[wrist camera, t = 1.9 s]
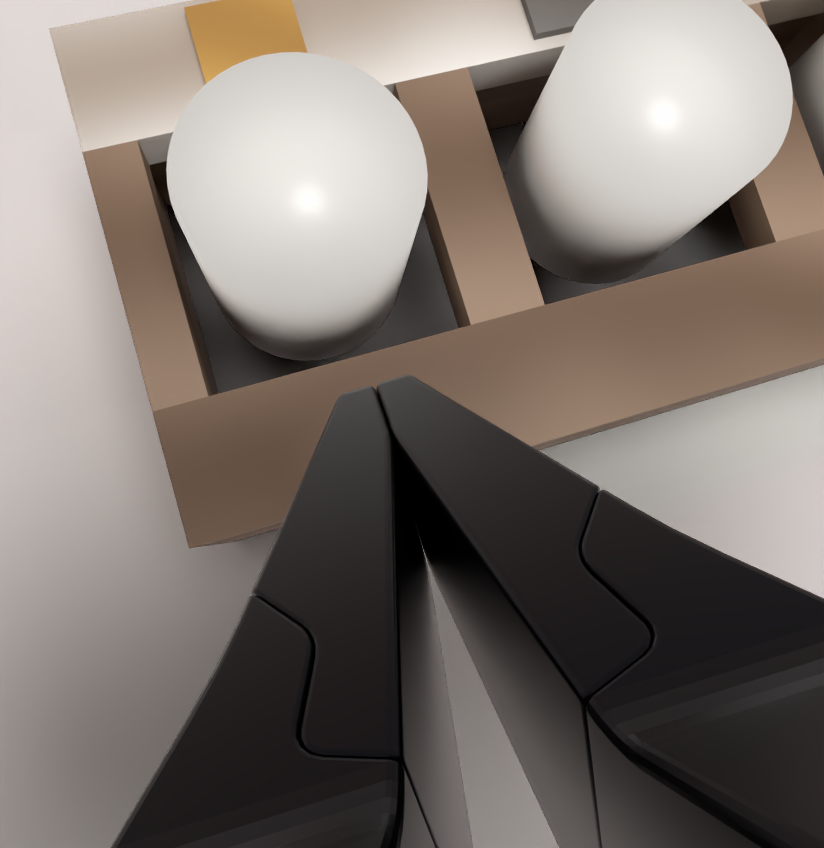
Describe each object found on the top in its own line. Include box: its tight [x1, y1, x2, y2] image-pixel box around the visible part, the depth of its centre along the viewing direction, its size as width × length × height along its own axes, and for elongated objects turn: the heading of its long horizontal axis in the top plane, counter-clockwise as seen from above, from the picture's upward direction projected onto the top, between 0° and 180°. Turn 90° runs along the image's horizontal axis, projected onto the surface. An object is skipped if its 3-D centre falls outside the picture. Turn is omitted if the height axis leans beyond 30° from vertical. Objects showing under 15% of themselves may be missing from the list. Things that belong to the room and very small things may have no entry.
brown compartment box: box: [49, 0, 824, 548], centre depth 19 cm, size 10×20×7 cm, turn 107°
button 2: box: [166, 52, 428, 361], centre depth 14 cm, size 4×4×4 cm
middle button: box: [503, 0, 793, 284], centre depth 15 cm, size 4×4×4 cm
